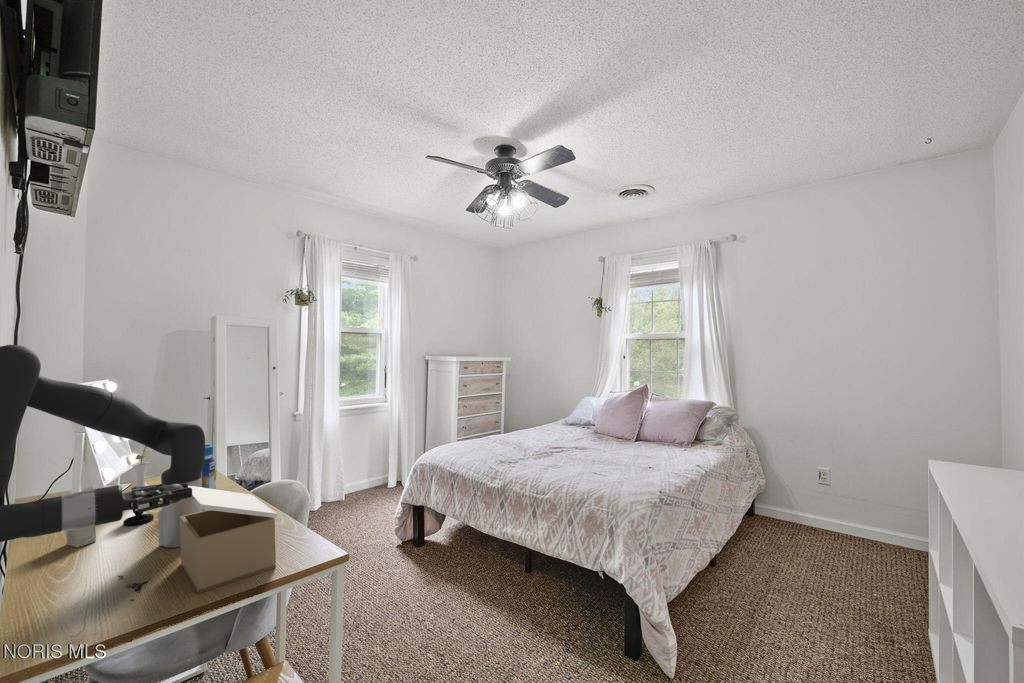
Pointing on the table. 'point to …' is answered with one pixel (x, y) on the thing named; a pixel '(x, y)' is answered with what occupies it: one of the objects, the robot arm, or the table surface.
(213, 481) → the beverage bottle
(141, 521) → the webcam
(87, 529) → the skincare box
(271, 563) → the carton
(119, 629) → the table surface
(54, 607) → the table surface
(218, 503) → the white box lid
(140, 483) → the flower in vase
